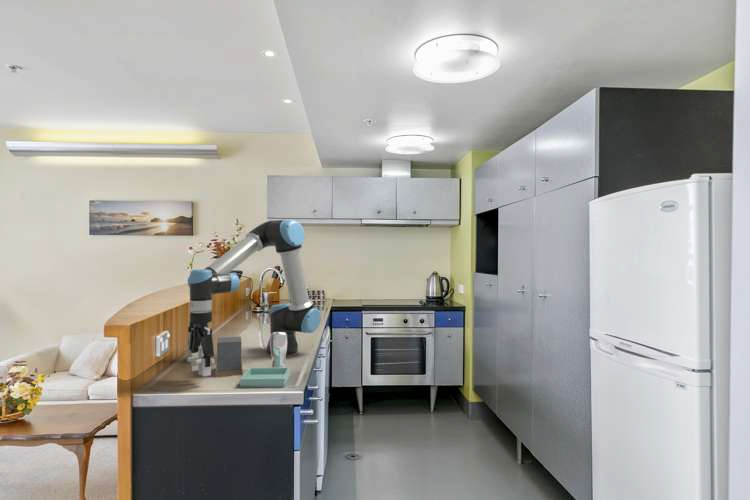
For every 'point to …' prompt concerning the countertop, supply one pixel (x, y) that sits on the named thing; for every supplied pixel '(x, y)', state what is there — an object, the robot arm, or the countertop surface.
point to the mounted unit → (229, 357)
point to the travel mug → (189, 339)
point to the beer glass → (278, 349)
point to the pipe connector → (199, 360)
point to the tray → (265, 377)
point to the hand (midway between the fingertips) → (201, 372)
